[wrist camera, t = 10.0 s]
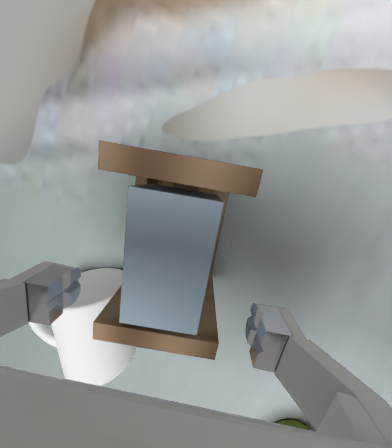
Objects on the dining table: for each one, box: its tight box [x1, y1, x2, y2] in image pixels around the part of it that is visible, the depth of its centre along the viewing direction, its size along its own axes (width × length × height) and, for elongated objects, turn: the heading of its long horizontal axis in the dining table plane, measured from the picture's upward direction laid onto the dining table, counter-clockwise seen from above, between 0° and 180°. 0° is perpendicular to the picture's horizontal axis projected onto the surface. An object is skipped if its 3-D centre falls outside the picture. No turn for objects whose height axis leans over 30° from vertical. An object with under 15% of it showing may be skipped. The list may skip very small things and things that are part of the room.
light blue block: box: [119, 184, 224, 335], centre depth 14 cm, size 6×10×5 cm, turn 171°
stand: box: [93, 140, 263, 360], centre depth 17 cm, size 9×14×11 cm, turn 170°
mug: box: [29, 268, 136, 386], centre depth 21 cm, size 12×10×8 cm
